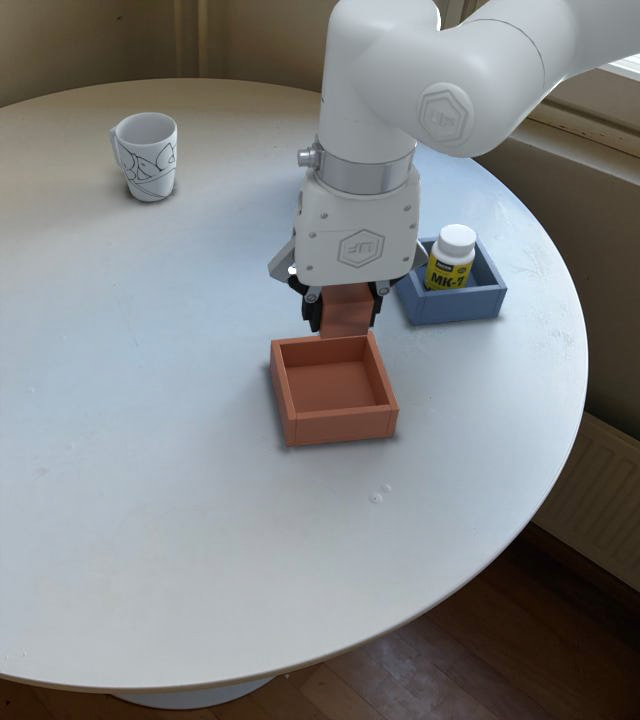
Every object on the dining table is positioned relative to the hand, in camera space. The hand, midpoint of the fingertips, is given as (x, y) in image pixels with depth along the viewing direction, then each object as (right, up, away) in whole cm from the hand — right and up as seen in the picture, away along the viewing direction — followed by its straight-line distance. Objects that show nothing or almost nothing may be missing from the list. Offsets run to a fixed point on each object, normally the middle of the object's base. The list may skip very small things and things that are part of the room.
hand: (339, 318), depth 74 cm
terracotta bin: (+1, -8, +9) cm, 13 cm away
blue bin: (+17, +4, +19) cm, 26 cm away
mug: (-20, +21, +39) cm, 48 cm away
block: (0, 0, 0) cm, 0 cm away
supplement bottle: (+17, +4, +19) cm, 26 cm away
